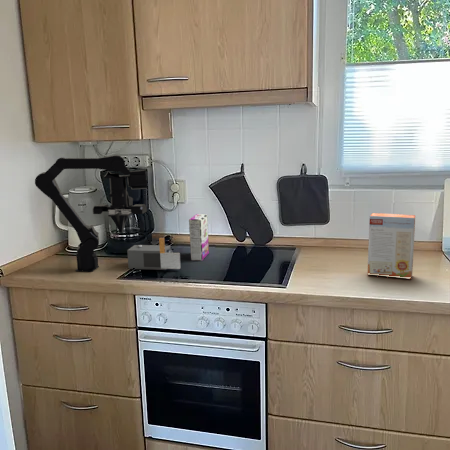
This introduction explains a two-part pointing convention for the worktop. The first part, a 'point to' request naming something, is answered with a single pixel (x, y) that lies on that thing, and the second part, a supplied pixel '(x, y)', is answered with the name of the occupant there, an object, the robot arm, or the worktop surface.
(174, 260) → the side door
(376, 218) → the cracker box
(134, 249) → the grey box with panel
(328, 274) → the worktop surface
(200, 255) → the candy bar box
